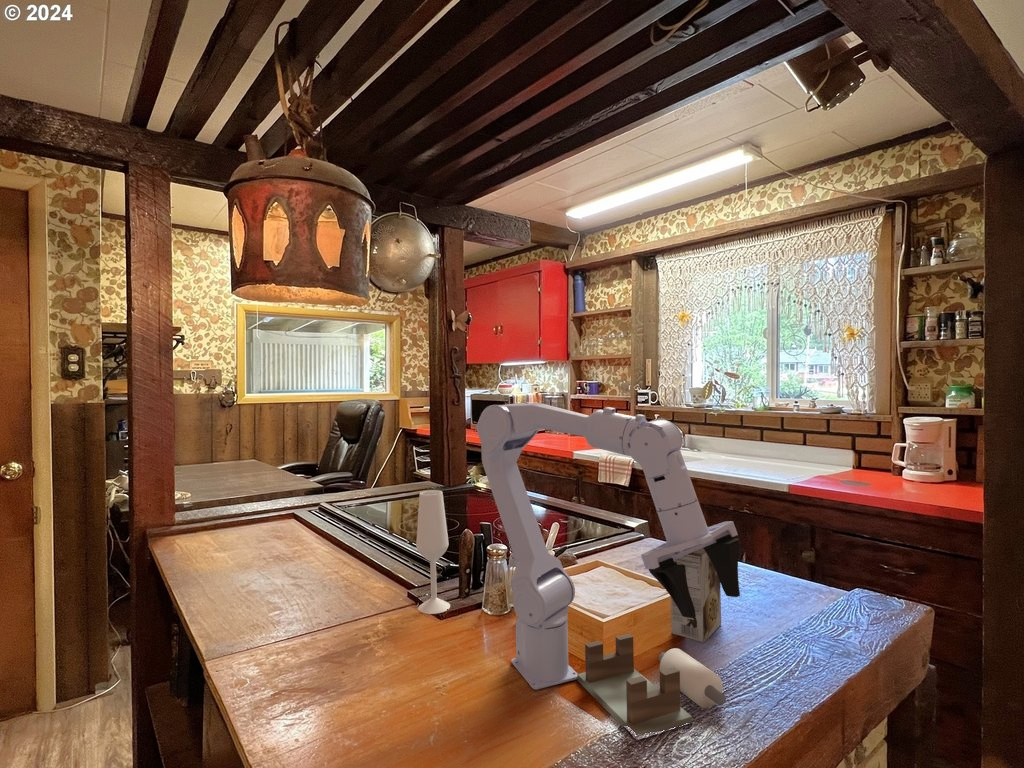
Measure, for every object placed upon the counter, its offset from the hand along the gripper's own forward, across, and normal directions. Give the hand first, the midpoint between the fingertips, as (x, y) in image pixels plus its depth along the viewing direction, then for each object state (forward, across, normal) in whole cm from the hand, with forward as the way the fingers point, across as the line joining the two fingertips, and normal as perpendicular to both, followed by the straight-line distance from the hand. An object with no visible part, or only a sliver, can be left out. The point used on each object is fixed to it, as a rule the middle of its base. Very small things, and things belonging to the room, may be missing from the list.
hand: (711, 606), depth 75 cm
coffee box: (+12, +15, +29) cm, 35 cm away
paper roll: (+12, +1, +13) cm, 18 cm away
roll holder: (+12, -8, +15) cm, 21 cm away
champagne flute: (-3, -26, +58) cm, 63 cm away
